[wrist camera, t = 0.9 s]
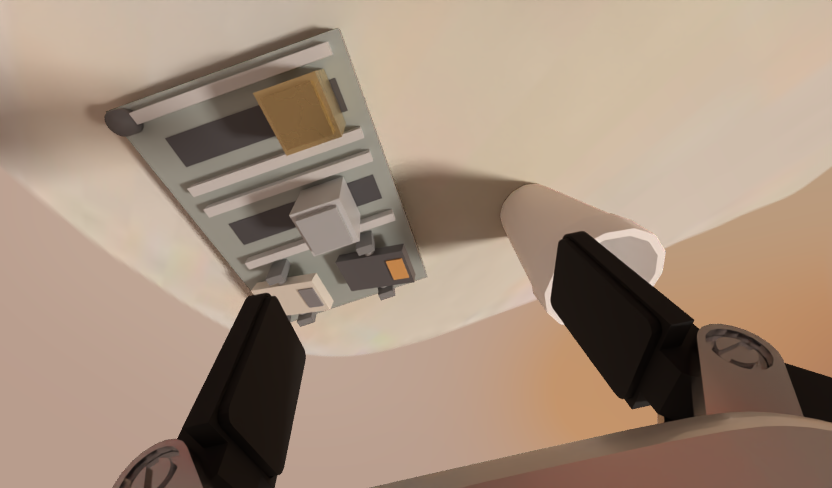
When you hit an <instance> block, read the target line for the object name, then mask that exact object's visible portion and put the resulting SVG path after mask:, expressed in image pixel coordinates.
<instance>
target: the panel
mask: <svg viewBox="0 0 832 488" xmlns="http://www.w3.org/2000/svg"><path fill="white" fill-rule="evenodd" d="M320 69H324V70H325V72H326V75H327V77H328V80H329V82H330V85H331V87H332V90H333V92H334V94H335V97H336V99H337V102H338V104H339V107H340V109H341V112H342V114H343V117H344V119H345V122H346V125H345V128H344V132H343V136H342V137H340V138H337V139H334V140H331V141H328V142H325V143H322V144H320V145H317V146H314V147H311V148H308V149H305V150H302V151H299V152H297V153H294V154H291V155H288V156H286V154H285V152H284V150H283V148H282V146H281V145H280V143H279V141H278V139H277V137H276V135H275V133H274V132H273V130H272V128H271V126H270V124H269V122H268V121H267V119H266V117H265V115H264V113H263V111H262V109H261V108H260V106H259V104H258V102H257V100H256V98H255V96H254V95H253V93H255V92H257V91H260V90H263V89H266V88H269V87H271V86H274V85H277V84H280V83H283V82H285V81H288V80H291V79H294V78H297V77H299V76H302V75H305V74H308V73H311V72H313V71H317V70H320ZM105 122H106V125H107V126H108V128H109V129H110V130H111V131H113V132H114V133H116V134H117V135H120V136H124V137H127V139H128V140H129V141H130V142H131V143H132V145H133V146H134V147H135V148H136V150H137V151H138V152H139V153H140V155H141V156H142V157H143V158H144V160H145V161H146V162H147V163H148V164H149V166H150V167H151V168H152V169H153V171H154V172H155V173H156V174H157V176H158V177H159V178H160V179H161V181H162V182H163V183H164V184H165V185H166V187H167V188H168V189H169V190H170V192H171V193H172V194H173V195H174V197H175V198H176V199H177V200H178V202H179V203H180V204H181V205H182V206H183V208H184V209H185V210H186V211H187V213H188V214H189V215H190V216H191V218H192V219H193V220H194V221H195V222H196V224H197V225H198V226H199V227H200V229H201V230H202V231H203V232H204V234H205V235H206V236H207V237H208V239H209V240H210V241H211V242H212V243H213V245H214V246H215V247H216V248H217V250H218V251H219V252H220V253H221V255H222V256H223V257H224V258H225V260H226V261H227V262H228V263H229V264H230V266H231V267H232V268H233V269H234V271H235V272H236V273H237V274H238V276H239V277H240V278H241V279H242V281H243V282H244V283H245V284H246V285H247V287H248V288H249V289H250V290H252V289H253V287H254V286H255V285H256V283H258V282H264V281H267V283H268V284H269V285H270V286H271V285H274V284H277V283H280V282H283V281H286V278H288V277H293V276H299V275H305V274H311V273H317V275H318V276H319V278H320V280H321V281H322V283H323V284H324V286H325V288H326V289H327V291H328V292H329V294H330V296H331V297H332V299H333V301H334V302H333V304H332V307H331V309H332V308H335V307H338V306H341V305H344V304H347V303H350V302H353V301H356V300H359V299H362V298H365V297H368V296H371V295H375V294H378V295H379V297H380V299H381V300H384V299H387V298H390V297H393V296H395V288H396V287H399V286H402V285H405V284H408V283H405V284H398V285H391V286H387V287H385V288H381V287H378V288H371V289H364V290H357V291H351V290H350V288H349V286H348V284H347V282H346V281H345V279H344V277H343V275H342V273H341V272H340V270H339V268H338V266H337V265H336V263H335V262H336V260H337V258H338V256H339V255H343V254H348V253H354V252H357V253H358V255H359V256H361V255H364V254H367V253H370V252H373V251H375V249H376V248H381V247H387V246H392V245H398V244H403V243H404V245H405V248H406V250H407V253H408V256H409V258H410V261H411V263H412V266H413V269H414V271H415V274H416V275H415V281H417V280H420V279H423V278H426V277H427V274H426V270H425V267H424V264H423V261H422V258H421V256H420V253H419V250H418V247H417V244H416V242H415V239H414V236H413V233H412V230H411V228H410V225H409V222H408V219H407V216H406V213H405V211H404V208H403V205H402V202H401V199H400V197H399V194H398V191H397V188H396V185H395V183H394V180H393V177H392V174H391V171H390V169H389V166H388V163H387V160H386V157H385V154H384V152H383V149H382V146H381V143H380V140H379V138H378V135H377V132H376V129H375V126H374V124H373V121H372V118H371V115H370V112H369V110H368V107H367V104H366V101H365V98H364V96H363V93H362V90H361V87H360V84H359V81H358V79H357V76H356V73H355V70H354V67H353V65H352V62H351V59H350V56H349V53H348V51H347V48H346V45H345V42H344V39H343V37H342V34H341V31H340V29H339V28H336V29H333V30H330V31H328V32H325V33H322V34H319V35H317V36H314V37H311V38H308V39H306V40H303V41H300V42H297V43H294V44H292V45H289V46H286V47H283V48H281V49H278V50H275V51H272V52H270V53H267V54H264V55H261V56H259V57H256V58H253V59H250V60H247V61H245V62H242V63H239V64H236V65H234V66H231V67H228V68H225V69H223V70H220V71H217V72H214V73H212V74H209V75H206V76H203V77H200V78H198V79H195V80H192V81H189V82H187V83H184V84H181V85H178V86H176V87H173V88H170V89H167V90H164V91H162V92H159V93H156V94H153V95H151V96H148V97H145V98H142V99H140V100H137V101H134V102H131V103H129V104H126V105H123V106H120V107H117V108H115V109H112V110H109V111H106V114H105ZM342 176H343V177H344V179H345V181H346V183H347V186H348V188H349V190H350V192H351V195H352V197H353V199H354V201H355V203H356V206H357V208H358V210H359V212H360V241H359V242H356V243H353V244H350V245H347V246H344V247H341V248H338V249H335V250H332V251H329V252H326V253H323V254H320V255H317V256H313V254H312V253H311V251H310V249H309V248H308V246H307V244H306V243H305V241H304V239H303V238H302V236H301V234H300V233H299V231H298V229H297V228H296V226H295V224H294V223H293V221H292V219H291V218H290V216H289V214H290V212H291V210H292V208H293V206H294V204H295V202H296V200H297V198H298V196H299V193H300V191H301V190H304V189H307V188H310V187H313V186H316V185H319V184H322V183H325V182H327V181H330V180H333V179H336V178H339V177H342ZM325 311H326V310H325ZM320 312H323V311H318V312H310V313H305V314H303V315H301V314H295V315H287V317H288V319H289V321H290V322H292V321H296V320H297V323H298V324H299V325H300V327H301V326H304V325H307V324H310V323H313V322H315V318H316V314H317V313H320Z"/></svg>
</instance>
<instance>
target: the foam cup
mask: <svg viewBox="0 0 832 488" xmlns="http://www.w3.org/2000/svg"><path fill="white" fill-rule="evenodd" d="M500 217H501V222H502V226H503V228H504V230H505V232H506V234H507V236H508V238H509V240H510V242H511V244H512V246H513V248H514V250H515V252H516V254H517V256H518V258H519V260H520V262H521V264H522V266H523V268H524V270H525V272H526V274H527V276H528V278H529V280H530V282H531V284H532V289H533V293H534V295H535V296H536V298H537V299H538V300H539V302H540V303H541V305H542V306H543V307H544V309H545V310H546V312H547V313H548V314H549V315H551V316H552V317H553V318H554V319H555V320H556V321H557V322H558V323H559V324H562V325H564V323H563V322H562V321H561V319H560V318H559V316H558V315H557V314H556V312H555V311H554V309H553V308H552V306H551V301H550V297H551V290H552V283H553V276H554V269H555V262H556V255H557V247H558V242H559V240H561V239H562V238H563V236H564V235H565V234H569V233H574V232H579V231H585V232H586V233H588V234H589V235H590V236H591V237H593V238H594V239H595V240H596V241H598V242H599V243H600V244H601V245H602V246H604V247H605V248H606V249H607V250H609V251H610V252H611V253H612V254H614V255H615V256H616V257H617V258H619V259H620V260H621V261H622V262H623V263H625V264H626V265H627V266H628V267H630V268H631V269H632V270H633V271H635V272H636V273H637V274H638V275H639V276H641V277H642V278H643V279H644V280H646V281H647V282H648V283H649V284H651V285H652V286H654V284H655V283H656V281H657V280H658V278H659V277H660V275H661V274H662V272H663V266H664V259H665V253H666V251H665V249H664V248H663V246H662V244H661V242H660V241H659V239H658V237H657V236H656V235H655V234H654V233H652V232H650V231H649V230H647V229H645V228H644V227H642V226H640V225H639V224H637V223H636V222H634V221H632V220H630V219H627V218H624V217H621V216H618V215H615V214H612V213H607V212H605V211H603V210H600V209H598V208H596V207H593V206H591V205H589V204H586V203H584V202H582V201H579V200H577V199H575V198H572V197H570V196H568V195H565V194H563V193H561V192H558V191H556V190H554V189H551V188H549V187H546V186H543V185H540V184H537V183H534V184H528V185H523V186H521V187H520V188H518V189H516V190H515V191H513V192H512V193H511V194H510V195H509V196H508V198H507V199H506V200H505V201H504V203H503V206H502V209H501V213H500Z"/></svg>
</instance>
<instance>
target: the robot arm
mask: <svg viewBox="0 0 832 488" xmlns="http://www.w3.org/2000/svg"><path fill="white" fill-rule="evenodd" d="M550 301H551V306H552V308H553V309H554V311H555V312H556V314H557V315H558V316H559V318H560V319H561V321H562V322H563V323H564V325H565V326H566V327H567V329H568V330H569V331H570V333H571V334H572V335H573V337H574V338H575V340H576V341H577V342H578V344H579V345H580V346H581V348H582V349H583V350H584V352H585V353H586V355H587V356H588V357H589V359H590V360H591V362H592V363H593V364H594V366H595V367H596V368H597V370H598V371H599V372H600V374H601V375H602V376H603V378H604V379H605V380H606V382H607V383H608V385H609V386H610V387H611V389H612V390H613V392H614V393H615V394H616V395H617V396H618V397H619V398H621V399H625V401H626V402H627V403H628V405H629V406H630V407H631V409H636V408H640V407H645V406H649V405H651V406H652V407H653V409H655V411H656V412H657V413H658V424H655V425H650V426H646V427H640V428H635V429H630V430H626V431H621V432H617V433H612V434H608V435H603V436H599V437H594V438H589V439H585V440H580V441H576V442H571V443H566V444H562V445H558V446H553V447H548V448H544V449H539V450H535V451H530V452H526V453H521V454H517V455H512V456H508V457H503V458H499V459H495V460H490V461H486V462H481V463H477V464H472V465H468V466H463V467H459V468H454V469H450V470H446V471H441V472H437V473H432V474H428V475H423V476H419V477H415V478H411V479H406V480H402V481H397V482H393V483H389V484H384V485H380V486H375V487H371V488H832V378H831V377H828V376H825V375H822V374H818V373H815V372H812V371H808V370H806V369H802V368H799V367H796V366H793V365H789V364H786V363H784V361H783V359H782V357H781V355H780V354H779V352H778V351H777V350H776V349H775V348H774V347H773V346H772V345H770V344H769V343H768V342H766V341H765V340H763V339H762V338H760V337H759V336H757V335H755V334H753V333H751V332H748V331H746V330H744V329H740V328H737V327H734V326H729V325H723V324H709V325H706V326H703V327H702V328H701V329H699V328H697V327H696V326H695V325H694V324H693V322H694V319H692V318H691V317H690V316H689V315H688V314H686V313H685V312H684V311H683V310H681V309H680V308H679V307H678V306H676V305H675V304H674V303H673V302H671V301H670V300H669V299H668V298H667V297H665V296H664V295H663V294H662V293H660V292H659V291H658V290H657V289H656V288H654V287H653V286H652V285H651V284H649V283H648V282H647V281H646V280H644V279H643V278H642V277H641V276H639V275H638V274H637V273H636V272H635V271H633V270H632V269H631V268H630V267H628V266H627V265H626V264H625V263H623V262H622V261H621V260H620V259H619V258H617V257H616V256H615V255H614V254H612V253H611V252H610V251H609V250H607V249H606V248H605V247H604V246H602V245H601V244H600V243H599V242H598V241H596V240H595V239H594V238H593V237H591V236H590V235H589V234H588V233H586V232H585V231H579V232H574V233H569V234H565V235H564V236H563V238H562V239H561V240H559V242H558V247H557V255H556V262H555V269H554V276H553V283H552V290H551V297H550ZM305 359H306V355H305V350H304V348H303V346H302V344H301V342H300V340H299V338H298V336H297V334H296V333H295V331H294V329H293V327H292V325H291V323H290V321H289V319H288V317H287V315H286V314H285V312H284V310H283V308H282V306H281V304H280V302H279V300H278V298H277V297H276V296H271V295H270V294H269V293H262V294H257V295H252V296H248V297H247V298H246V300H245V302H244V304H243V306H242V308H241V310H240V312H239V314H238V316H237V318H236V320H235V322H234V324H233V326H232V328H231V330H230V332H229V334H228V336H227V338H226V340H225V342H224V344H223V346H222V349H221V350H220V352H219V354H218V356H217V358H216V361H215V363H214V365H213V367H212V369H211V371H210V373H209V375H208V377H207V379H206V381H205V383H204V385H203V387H202V389H201V391H200V393H199V395H198V397H197V399H196V401H195V403H194V405H193V407H192V409H191V411H190V413H189V415H188V417H187V419H186V421H185V423H184V425H183V427H182V430H181V432H180V434H179V436H178V438H177V439H169V440H164V441H162V442H159V443H157V444H155V445H153V446H152V447H150V448H148V449H147V450H145V451H144V452H142V453H141V454H140V455H139V456H138V457H137V458H135V459H134V460H133V461H132V462H131V463H130V464H129V465H128V467H127V468H126V469H125V470H124V471H123V472H122V473H121V475H120V476H119V478H118V479H117V481H116V483H115V484H114V486H113V488H275V483H276V478H277V475H280V474H281V473H282V471H283V469H284V465H285V460H286V455H287V450H288V445H289V440H290V435H291V430H292V424H293V419H294V415H295V410H296V405H297V400H298V395H299V389H300V385H301V380H302V375H303V370H304V365H305Z"/></svg>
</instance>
